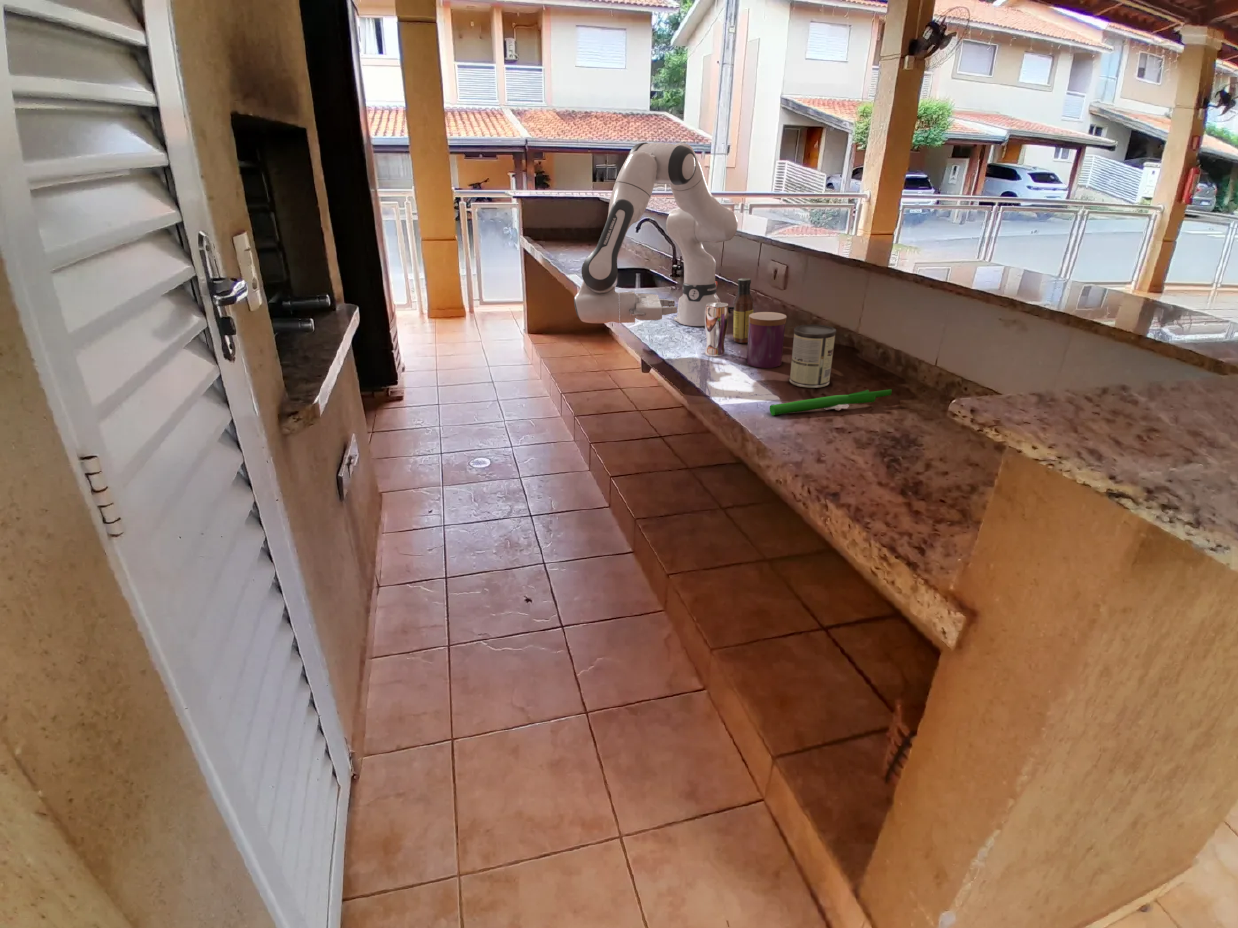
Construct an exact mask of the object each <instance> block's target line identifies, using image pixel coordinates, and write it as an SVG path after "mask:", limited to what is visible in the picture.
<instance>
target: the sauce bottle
mask: <svg viewBox="0 0 1238 928" xmlns="http://www.w3.org/2000/svg"><path fill="white" fill-rule="evenodd" d="M751 284H752V279H751V278H750V277H741V278H738V279H737V295H736V296H735V297H734V300H733V307H734V309H733V323H732V324H733V326H732V327H733V330H732V331H733V332H732V333H733V334H732V336H733V342H735V343H737V344H748V331H749V321H748V320H749V315H750V314H752V313H754V298H753V296H752V294H751Z"/></svg>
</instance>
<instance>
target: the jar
mask: <svg viewBox="0 0 1238 928" xmlns="http://www.w3.org/2000/svg"><path fill="white" fill-rule="evenodd" d="M748 321H749V331H748V343H747V347H746V361H745V362H746V364H747V365H748V366H751V367H755V368H760V369H772V368H776V367H777V368H778V367H780V366H781V365H782V362H783V353H784V352H783V350H784V341H785V331H786V323H787V315H786V314H785V313H781V312H774V311H758V312H753V313H752V314H750V315H749V320H748Z"/></svg>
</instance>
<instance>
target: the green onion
mask: <svg viewBox="0 0 1238 928" xmlns="http://www.w3.org/2000/svg"><path fill="white" fill-rule="evenodd" d="M887 396H892V388H891V389H883V390H875V391H870V390H869V388H868V389H865V390H861V391H857V392H852V393H849V394H838V395H830V396H822V397H816V398H809V399H803V400H802V399H801V400H796V401H790V402H785V403H783V402H782V403H776V404H771V405H769V413H770V415H771V416H778V415H779V416H780V415H785V414H792V413H801V412H807V411H814V410H820V409H821V410H822V409H824V410H825V411H830V410H835V411H836V412H837V411H841V410H842V409H849V408H850V405H852V404H855V405H856V404H867V403H874V402H875V401H876V398H883V397H887Z"/></svg>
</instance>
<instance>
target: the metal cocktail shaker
mask: <svg viewBox="0 0 1238 928" xmlns="http://www.w3.org/2000/svg"><path fill="white" fill-rule="evenodd" d="M728 307H729V303H727V302H722V301H721V302H712V303H707V304H706V310H705V326H704V330H705V338H706V346H705V350H704V354H705V356H707V357H715V358H717V357H723V356H725V354H726V352H725V351H726V350H725V340H726V335H727V330H728V325H729V312H728Z"/></svg>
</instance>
